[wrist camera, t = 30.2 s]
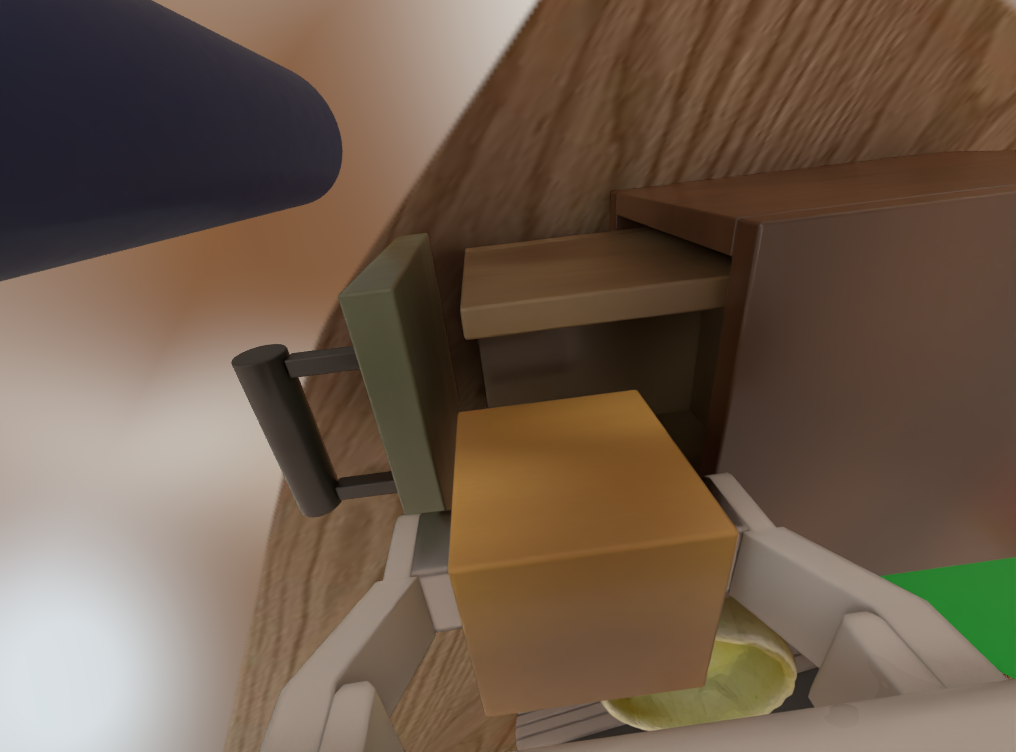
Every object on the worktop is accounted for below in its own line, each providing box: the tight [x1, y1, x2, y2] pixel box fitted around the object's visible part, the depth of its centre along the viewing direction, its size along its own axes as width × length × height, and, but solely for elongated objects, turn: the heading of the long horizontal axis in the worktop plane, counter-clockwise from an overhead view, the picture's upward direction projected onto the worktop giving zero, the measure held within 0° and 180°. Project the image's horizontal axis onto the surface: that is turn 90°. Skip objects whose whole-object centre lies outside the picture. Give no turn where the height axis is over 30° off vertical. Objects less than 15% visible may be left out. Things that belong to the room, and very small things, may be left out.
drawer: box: [232, 227, 732, 517], centre depth 15 cm, size 17×10×8 cm, turn 96°
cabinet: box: [610, 150, 1016, 598], centre depth 15 cm, size 14×12×10 cm
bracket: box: [880, 557, 1016, 679], centre depth 26 cm, size 12×8×7 cm
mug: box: [600, 597, 797, 731], centre depth 22 cm, size 12×10×10 cm
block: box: [448, 390, 739, 717], centre depth 9 cm, size 4×4×4 cm
